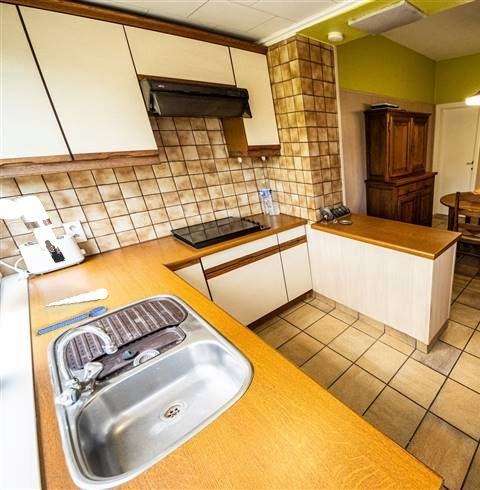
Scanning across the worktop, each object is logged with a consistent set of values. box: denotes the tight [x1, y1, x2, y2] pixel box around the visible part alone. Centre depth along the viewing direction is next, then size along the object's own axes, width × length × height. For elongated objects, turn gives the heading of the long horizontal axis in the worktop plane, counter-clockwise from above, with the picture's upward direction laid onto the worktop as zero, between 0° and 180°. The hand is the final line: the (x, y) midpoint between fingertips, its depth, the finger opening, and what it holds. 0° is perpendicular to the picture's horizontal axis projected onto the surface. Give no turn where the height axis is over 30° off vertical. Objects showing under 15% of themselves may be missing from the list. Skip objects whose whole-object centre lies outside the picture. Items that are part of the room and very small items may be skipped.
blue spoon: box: [37, 305, 107, 335], centre depth 109 cm, size 20×5×1 cm, turn 136°
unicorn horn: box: [45, 288, 108, 307], centre depth 122 cm, size 5×24×5 cm, turn 100°
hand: (60, 260), depth 124 cm, fingers closed
